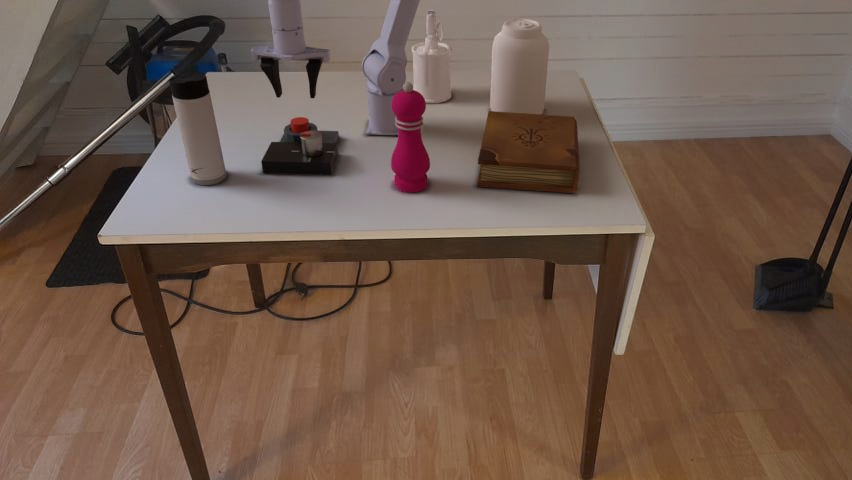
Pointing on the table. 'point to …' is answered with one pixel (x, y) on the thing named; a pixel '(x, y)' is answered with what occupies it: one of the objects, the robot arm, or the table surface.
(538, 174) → the diary
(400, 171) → the pepper mill
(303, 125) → the stop button
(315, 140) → the burner knob
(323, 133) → the button box
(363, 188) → the table surface
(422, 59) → the white oil can
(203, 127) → the travel mug
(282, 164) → the panel
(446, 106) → the table surface
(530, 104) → the can
